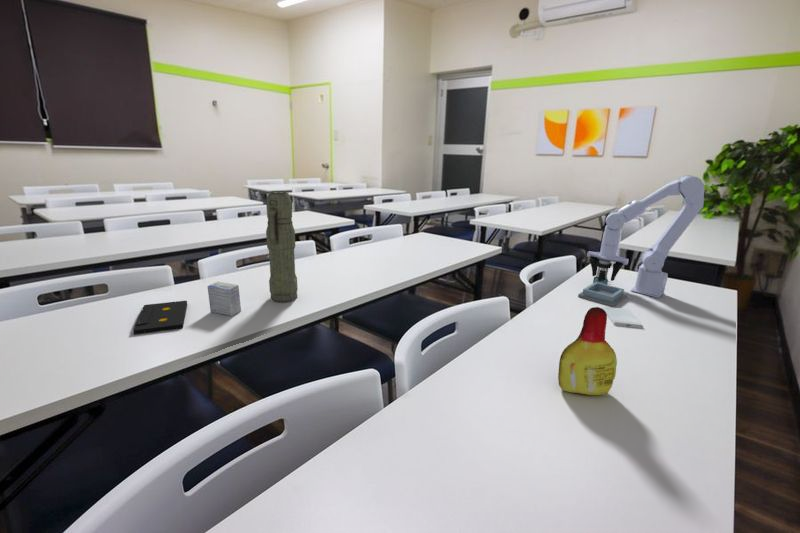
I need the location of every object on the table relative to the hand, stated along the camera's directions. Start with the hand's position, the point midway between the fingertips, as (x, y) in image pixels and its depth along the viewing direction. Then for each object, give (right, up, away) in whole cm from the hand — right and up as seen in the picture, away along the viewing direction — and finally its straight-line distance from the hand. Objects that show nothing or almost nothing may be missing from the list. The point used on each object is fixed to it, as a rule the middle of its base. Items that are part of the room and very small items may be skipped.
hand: (603, 277), depth 157 cm
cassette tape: (-149, -11, -41) cm, 155 cm away
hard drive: (-9, -13, -29) cm, 33 cm away
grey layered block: (-133, -9, -36) cm, 138 cm away
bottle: (-40, -23, -68) cm, 82 cm away
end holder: (-6, -7, -12) cm, 15 cm away
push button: (0, -3, +1) cm, 3 cm away
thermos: (-119, -6, -23) cm, 121 cm away
